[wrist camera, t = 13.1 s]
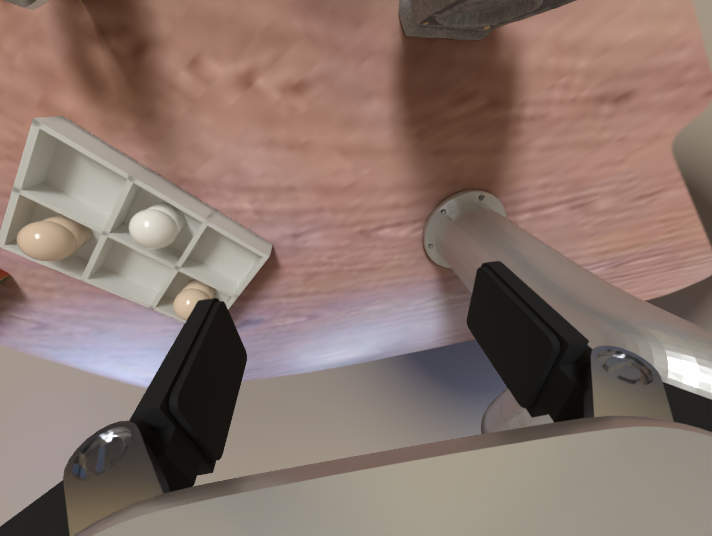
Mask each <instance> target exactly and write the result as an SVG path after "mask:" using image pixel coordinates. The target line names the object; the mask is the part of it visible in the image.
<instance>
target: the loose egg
mask: <svg viewBox="0 0 712 536" xmlns="http://www.w3.org/2000/svg"><path fill="white" fill-rule="evenodd" d="M185 224H186V220H185V216H184V214H183V213H182V212H181V210H180V209H178V208H176V207H175V206H173V205H171V204H169V203H166V202H158V203H155V204H153V205H152V206H150V207H149V208H147V209H146V210H143V211H140V212H138V213H137V214H135V215H134V216H133V217H132V219H131V220H130V223H129V232H130V235H131V237H132V238H133V239H134V241H135V242H137V243H138V244H139V245H141V246H143V247H146V248H150V249H161V248H164V247H167V246H169V245H170V244H172V243H173V242H174V240H175V239H176V237H177V235H178V234H179V233H180V232H181V231H182V230H183V229H184V227H185Z"/></svg>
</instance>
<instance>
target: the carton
mask: <svg viewBox="0 0 712 536" xmlns="http://www.w3.org/2000/svg"><path fill="white" fill-rule="evenodd" d="M9 275H10V274H9V273H7V272H5V271H3V270H1V269H0V284H2V283H3V282H4V281H6V280H7V279H9V278H10V276H9Z"/></svg>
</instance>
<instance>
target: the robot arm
mask: <svg viewBox="0 0 712 536" xmlns="http://www.w3.org/2000/svg"><path fill="white" fill-rule="evenodd" d="M441 210H442V211H441ZM423 245H424V248H425V251H426V252H427V254H428V256H429V257H430V258H431V260H432V261H434V262H435V263H436V264H438V265H440V266H442V267H445V268H451V269H452V270H453V271H454V272H455V274H456V275H457V276H458V277H459V279H460V280H461V281H462V282H463V284H464V285H465V286H466V288H467V289H468V290H469V291H470V293H471V294H472V297H471V302H470V307H469V312H468V317H467V325H468V328H469V330H470V331H471V333H472V334H473V336H474V337H475V339H476V340H477V342H478V343H479V345H480V346H481V348H482V349H483V351H484V352H485V354H486V355H487V357H488V358H489V360H490V361H491V363H492V365H493V366H494V368H495V369H496V370H497V372H498V374H499V375H500V377H501V378H502V380H503V381H504V383H505V384H506V386H507V387H508V388H507V389H506V390H504V391H503V393H501V394H500V395H499V396H498V397H497V398H496V399H495V400H494V401H493V402H492V403H491V404H490V405H489V406H488V408H487V409H486V411H485V413H484V415H483V418H482V423H481V432H482V434H481V435H475V436H469V437H463V438H458V439H452V440H446V441H440V442H434V443H428V444H423V445H417V446H411V447H405V448H400V449H394V450H388V451H383V452H377V453H371V454H366V455H360V456H354V457H348V458H343V459H337V460H332V461H326V462H320V463H315V464H309V465H304V466H299V467H293V468H287V469H282V470H276V471H270V472H265V473H260V474H254V475H249V476H244V477H239V478H234V479H228V480H224V481H218V482H213V483H208V484H203V485H199V486H193V485H194V483H195V480H196V476H197V475H202V474H208V473H213V470H214V467H215V463H216V460H219V459H220V458H221V457H222V454H223V451H224V447H225V443H226V439H227V435H228V431H229V428H230V424H231V420H232V416H233V412H234V408H235V404H236V400H237V396H238V392H239V389H240V385H241V381H242V377H243V373H244V369H245V366H246V361H247V354H246V350H245V348H244V346H243V343H242V341H241V339H240V336H239V334H238V332H237V329H236V327H235V325H234V322H233V320H232V318H231V316H230V313H229V311H228V309H227V306H226V304H225V302H224V301H219V299H218V298H212V299H204V300H199V301H198V302H197V303H196V305H195V307H194V309H193V310H192V312H191V314H190V316H189V317H188V319H187V321H186V323H185V324H184V326H183V328H182V330H181V331H180V333H179V335H178V337H177V338H176V340H175V342H174V344H173V345H172V347H171V349H170V350H169V352H168V354H167V356H166V357H165V359H164V361H163V363H162V364H161V366H160V368H159V370H158V371H157V373H156V375H155V377H154V378H153V380H152V382H151V384H150V385H149V387H148V389H147V391H146V393H145V394H144V396H143V398H142V399H141V401H140V403H139V405H138V406H137V408H136V410H135V412H134V413H133V415H132V417H131V419H130V420H129V421H119V422H116V423H113V424H110V425H108V426H106V427H104V428H102V429H100V430H99V431H97V432H96V433H94V434H93V435H92V436H90V437H89V438H88V439H86V441H84V443H82V444H81V445H80V446H79V448H77V450H76V451H75V452H74V454H73V455H72V456H71V457H70V459H69V461H68V463H67V465H66V467H65V469H64V476H63V481H61V482H60V483H59V484H57V485H56V486H55V487H53V488H52V489H50V490H49V491H48V492H47V493H45V494H44V495H42V496H41V497H40V498H38V499H37V500H36V501H34V502H33V503H32V504H30V505H29V506H28V507H26V508H25V509H24V510H22V511H21V512H19V513H18V514H17V515H15V516H14V517H13V518H12V519H10V520H9V521H7V522H6V523H5V524H3V525H2V526H1V527H0V536H712V333H711V332H709V331H707V330H705V329H703V328H701V327H699V326H697V325H695V324H693V323H690V322H688V321H686V320H684V319H682V318H680V317H677V316H675V315H673V314H671V313H668V312H666V311H664V310H662V309H660V308H658V307H655V306H654V305H651V304H649V303H647V302H645V301H643V300H641V299H639V298H637V297H635V296H633V295H631V294H629V293H627V292H625V291H623V290H621V289H619V288H617V287H615V286H613V285H612V284H610V283H608V282H607V281H605V280H603V279H602V278H600V277H598V276H597V275H595V274H593V273H591V272H590V271H588V270H586V269H585V268H583V267H582V266H580V265H578V264H577V263H575V262H574V261H572V260H571V259H569V258H567V257H566V256H564V255H563V254H561V253H560V252H558V251H557V250H555V249H553V248H552V247H550V246H549V245H547V244H546V243H544V242H543V241H541V240H540V239H538V238H536V237H535V236H533V235H532V234H530V233H529V232H527V231H526V230H524V229H522V228H521V227H519V226H518V225H516V224H515V223H513V222H512V221H510V220H509V219H507V217H506V211H505V208H504V206H503V204H502V203H501V201H500V200H499V199H498V198H496V197H495V196H494V195H492V194H490V193H488V192H485V191H482V190H466V191H462V192H459V193H456V194H454V195H452V196H450V197H448V198H447V199H445V200H444V201H443V202H441V203H440V204H439V205H438V206H437V207H436V208H435V209H434V211H433V212H432V213H431V215H430V216H429V218H428V220H427V222H426V225H425V228H424V232H423ZM192 486H193V487H192Z"/></svg>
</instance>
